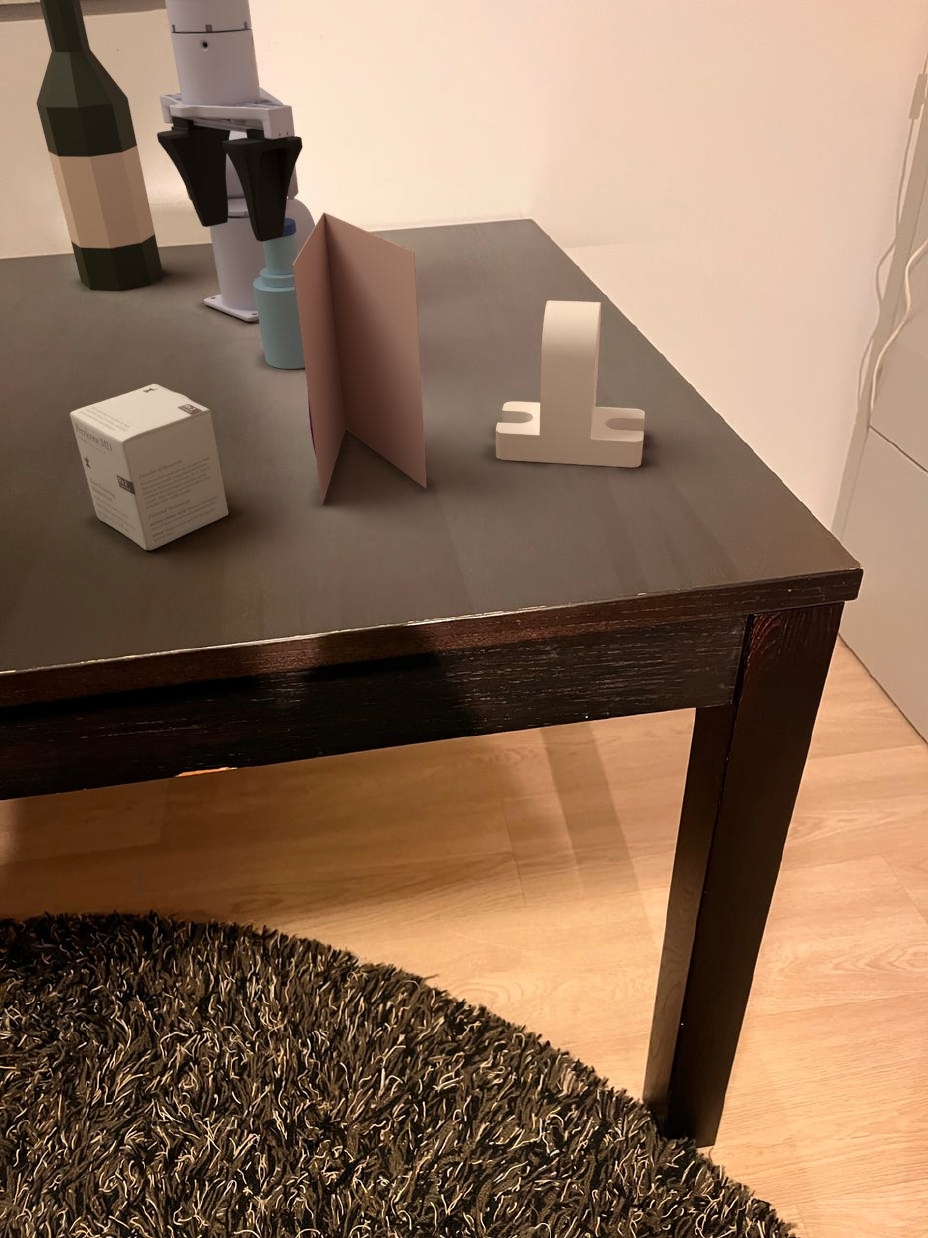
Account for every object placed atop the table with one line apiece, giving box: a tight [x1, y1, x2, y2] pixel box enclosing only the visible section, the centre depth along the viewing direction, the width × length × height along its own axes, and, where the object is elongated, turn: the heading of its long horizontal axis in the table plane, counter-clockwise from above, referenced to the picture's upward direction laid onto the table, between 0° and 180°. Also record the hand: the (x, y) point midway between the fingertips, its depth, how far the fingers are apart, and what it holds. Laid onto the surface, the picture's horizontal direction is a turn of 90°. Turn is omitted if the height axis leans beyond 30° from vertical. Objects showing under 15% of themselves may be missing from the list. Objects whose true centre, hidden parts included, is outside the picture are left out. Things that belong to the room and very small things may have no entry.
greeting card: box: [293, 212, 427, 505], centre depth 62 cm, size 11×7×15 cm, turn 178°
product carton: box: [69, 383, 229, 551], centre depth 59 cm, size 6×6×7 cm
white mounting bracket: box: [495, 300, 646, 468], centre depth 65 cm, size 5×10×10 cm, turn 80°
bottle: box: [253, 218, 305, 370], centre depth 80 cm, size 5×5×11 cm
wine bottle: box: [36, 0, 164, 292], centre depth 94 cm, size 8×8×30 cm
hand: (241, 231), depth 77 cm, fingers open, 7 cm apart
